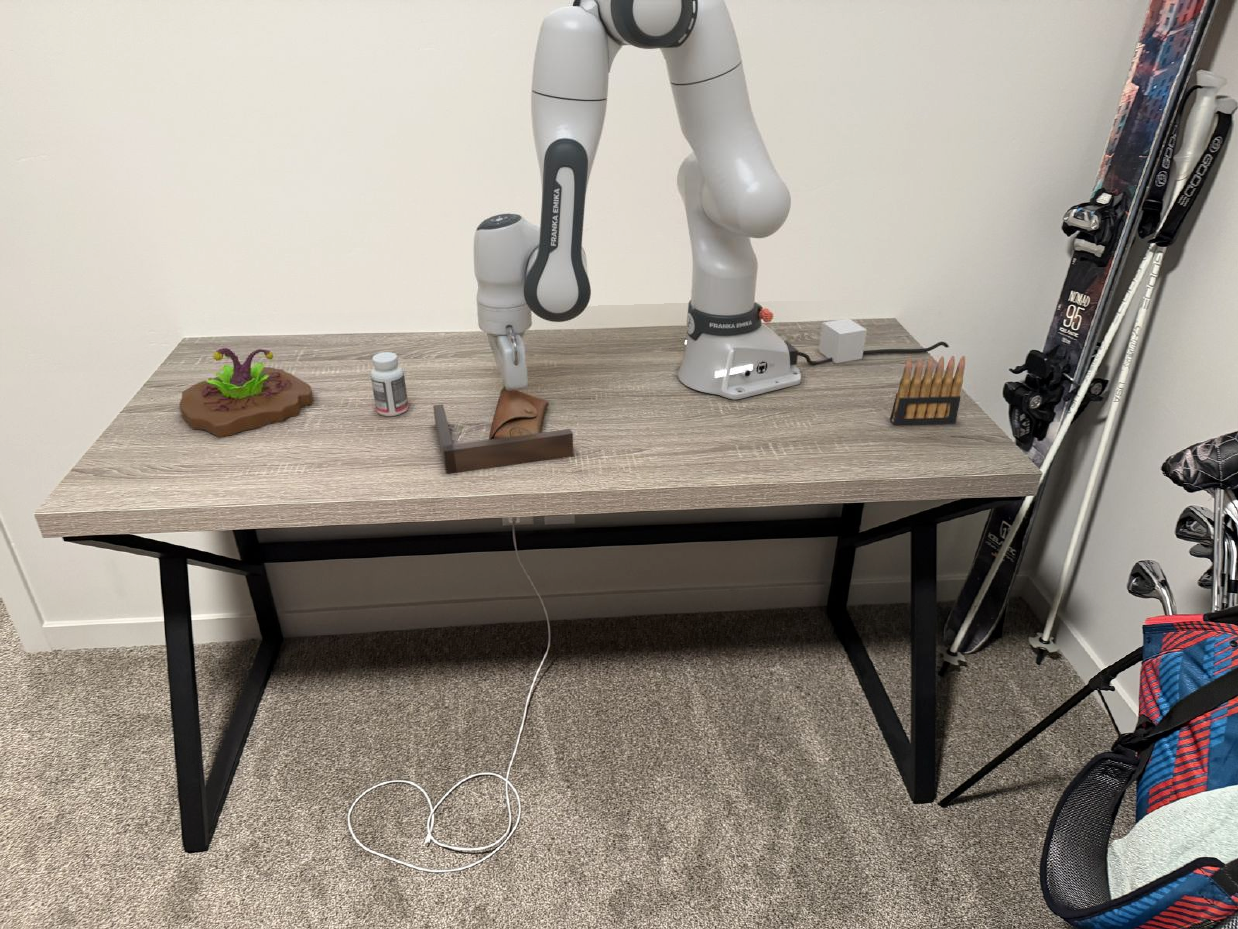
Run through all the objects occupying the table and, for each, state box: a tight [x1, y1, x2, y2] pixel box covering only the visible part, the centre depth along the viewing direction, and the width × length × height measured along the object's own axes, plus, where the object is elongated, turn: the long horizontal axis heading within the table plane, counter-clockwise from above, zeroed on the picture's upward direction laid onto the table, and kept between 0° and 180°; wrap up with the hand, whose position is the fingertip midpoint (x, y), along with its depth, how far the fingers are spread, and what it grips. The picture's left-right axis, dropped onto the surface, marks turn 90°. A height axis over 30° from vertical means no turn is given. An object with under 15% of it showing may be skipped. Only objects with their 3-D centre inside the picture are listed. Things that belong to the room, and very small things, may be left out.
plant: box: [179, 347, 314, 438], centre depth 143 cm, size 20×20×11 cm
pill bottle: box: [370, 351, 409, 417], centre depth 142 cm, size 5×5×10 cm
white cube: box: [818, 318, 868, 364], centre depth 164 cm, size 6×6×6 cm
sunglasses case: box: [488, 386, 549, 440], centre depth 139 cm, size 18×7×7 cm
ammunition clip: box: [889, 355, 966, 427], centre depth 140 cm, size 11×2×12 cm, turn 94°
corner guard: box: [432, 404, 574, 475], centre depth 135 cm, size 20×15×4 cm
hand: (509, 390), depth 148 cm, fingers closed
